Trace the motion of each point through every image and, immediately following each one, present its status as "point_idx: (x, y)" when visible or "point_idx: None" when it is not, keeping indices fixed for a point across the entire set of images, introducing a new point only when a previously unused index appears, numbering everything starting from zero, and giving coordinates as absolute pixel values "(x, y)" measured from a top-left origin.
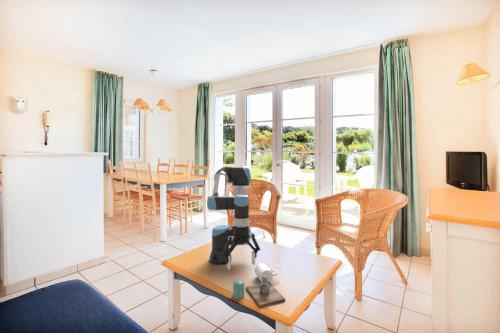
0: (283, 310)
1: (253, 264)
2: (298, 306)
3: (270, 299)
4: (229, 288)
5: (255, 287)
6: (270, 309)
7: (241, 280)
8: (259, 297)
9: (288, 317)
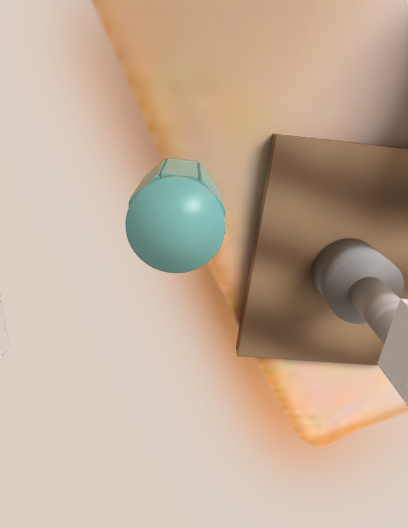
0: (322, 404)
1: (383, 360)
2: (402, 408)
3: (320, 342)
4: (153, 62)
5: (331, 185)
6: (274, 378)
7: (215, 209)
8: (278, 301)
9: (305, 441)
